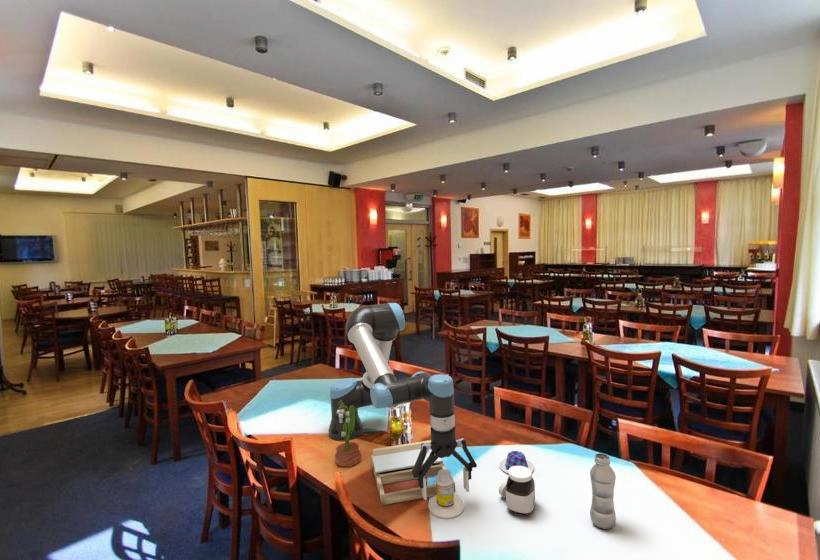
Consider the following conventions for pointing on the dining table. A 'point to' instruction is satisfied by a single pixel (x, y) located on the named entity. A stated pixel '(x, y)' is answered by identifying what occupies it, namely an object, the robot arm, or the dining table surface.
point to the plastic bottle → (602, 492)
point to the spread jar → (519, 490)
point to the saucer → (446, 513)
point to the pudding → (515, 461)
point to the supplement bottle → (444, 489)
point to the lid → (399, 456)
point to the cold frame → (403, 476)
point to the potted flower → (347, 439)
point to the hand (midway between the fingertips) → (445, 493)
